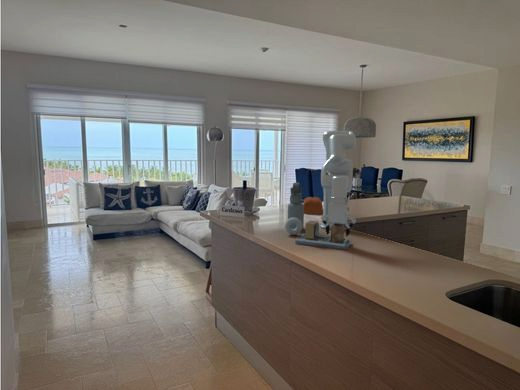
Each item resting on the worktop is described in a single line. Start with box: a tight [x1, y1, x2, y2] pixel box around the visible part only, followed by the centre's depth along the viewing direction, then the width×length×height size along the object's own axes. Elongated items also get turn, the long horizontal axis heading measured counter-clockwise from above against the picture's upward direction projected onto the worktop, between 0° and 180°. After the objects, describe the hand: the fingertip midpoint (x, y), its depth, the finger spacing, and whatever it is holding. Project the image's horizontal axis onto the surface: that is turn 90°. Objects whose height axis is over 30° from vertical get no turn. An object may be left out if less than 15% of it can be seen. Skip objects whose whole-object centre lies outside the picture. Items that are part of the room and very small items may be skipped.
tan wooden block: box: [330, 224, 345, 243], centre depth 176 cm, size 5×8×9 cm, turn 155°
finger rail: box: [294, 220, 352, 251], centre depth 179 cm, size 12×26×11 cm, turn 65°
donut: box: [284, 218, 304, 236], centre depth 197 cm, size 10×4×10 cm, turn 91°
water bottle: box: [287, 182, 305, 230], centre depth 211 cm, size 10×10×28 cm
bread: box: [302, 196, 324, 216], centre depth 274 cm, size 16×27×11 cm, turn 171°
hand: (337, 234), depth 176 cm, fingers open, 9 cm apart
